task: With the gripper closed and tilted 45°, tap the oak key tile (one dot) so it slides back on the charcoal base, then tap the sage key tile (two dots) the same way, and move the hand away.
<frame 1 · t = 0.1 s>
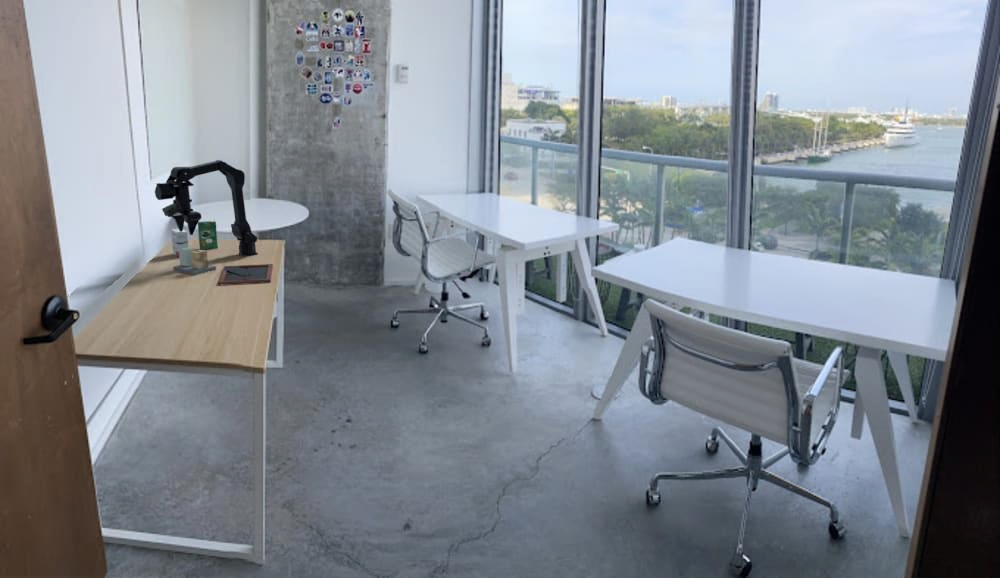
hand: (186, 233, 317), 15 cm above the table, tool pointing down, fingers open, 9 cm apart
sage tile: (187, 256, 316), point 5 cm above the table, slide at 0.0 cm
ink box: (181, 255, 339), on the table
coffee box: (209, 248, 352), on the table
oak tile: (199, 259, 312), point 5 cm above the table, slide at 0.0 cm
key base: (194, 269, 315), on the table
picture frame: (247, 277, 309), on the table
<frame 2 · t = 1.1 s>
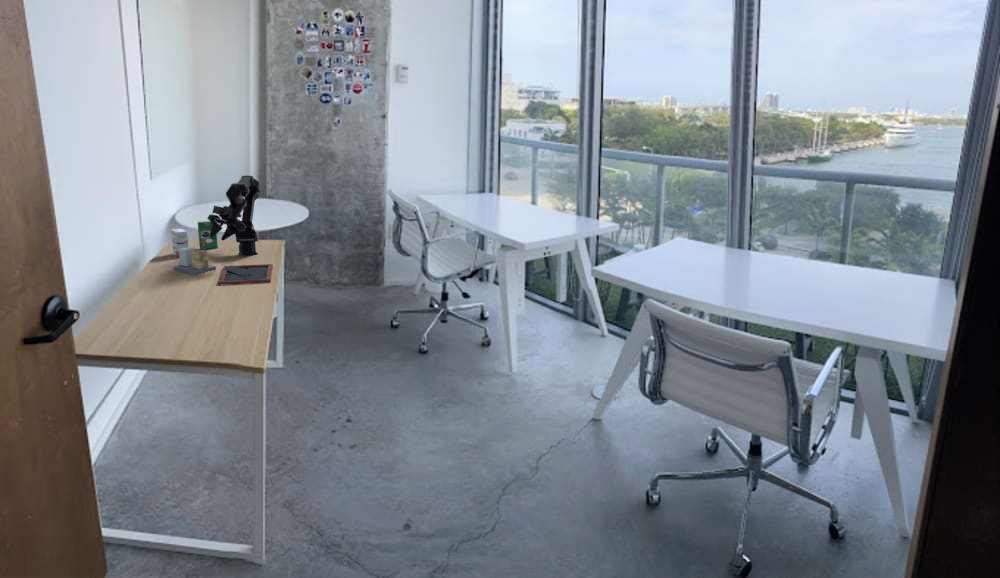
hand: (216, 238, 318), 12 cm above the table, tool tilted 45°, fingers open, 7 cm apart
nothing on the table moved.
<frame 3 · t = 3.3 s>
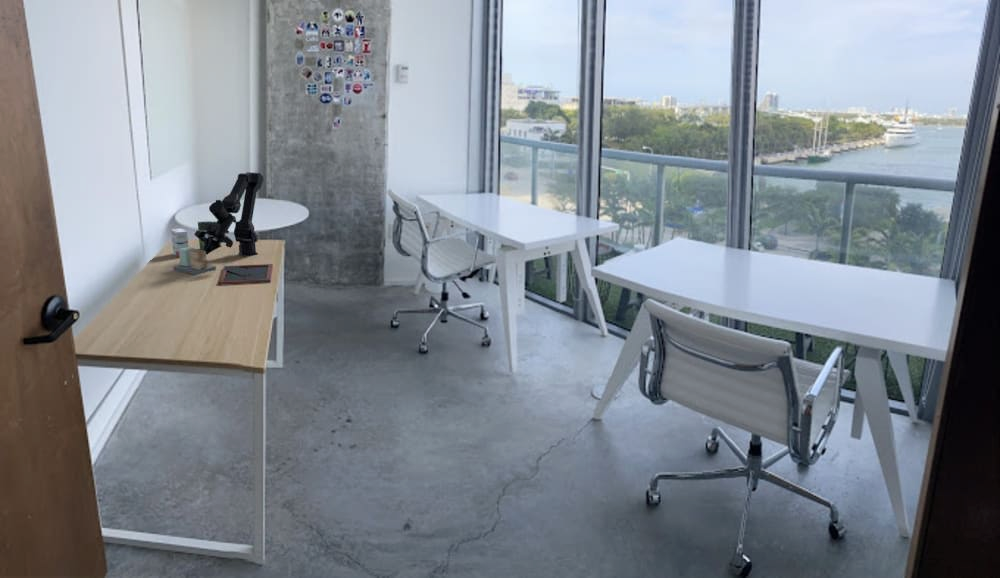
hand: (203, 255, 313), 7 cm above the table, tool tilted 45°, fingers closed, pressing on oak tile
oak tile: (198, 259, 311), point 5 cm above the table, slide at 0.6 cm, touching gripper
everything else where it was.
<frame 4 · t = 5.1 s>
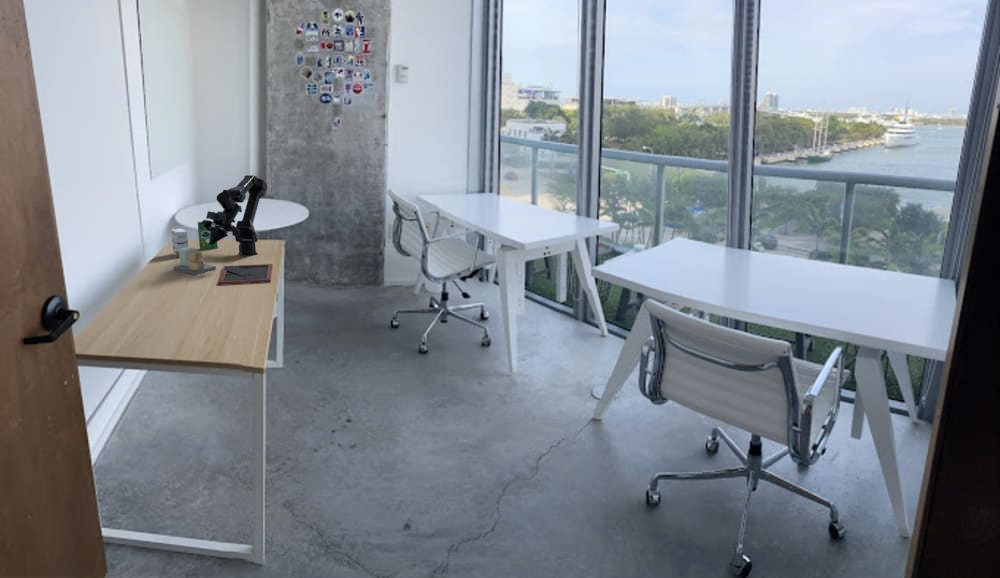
hand: (210, 244, 316), 10 cm above the table, tool tilted 45°, fingers closed
oak tile: (194, 260, 310), point 5 cm above the table, slide at 2.3 cm
everything else where it was.
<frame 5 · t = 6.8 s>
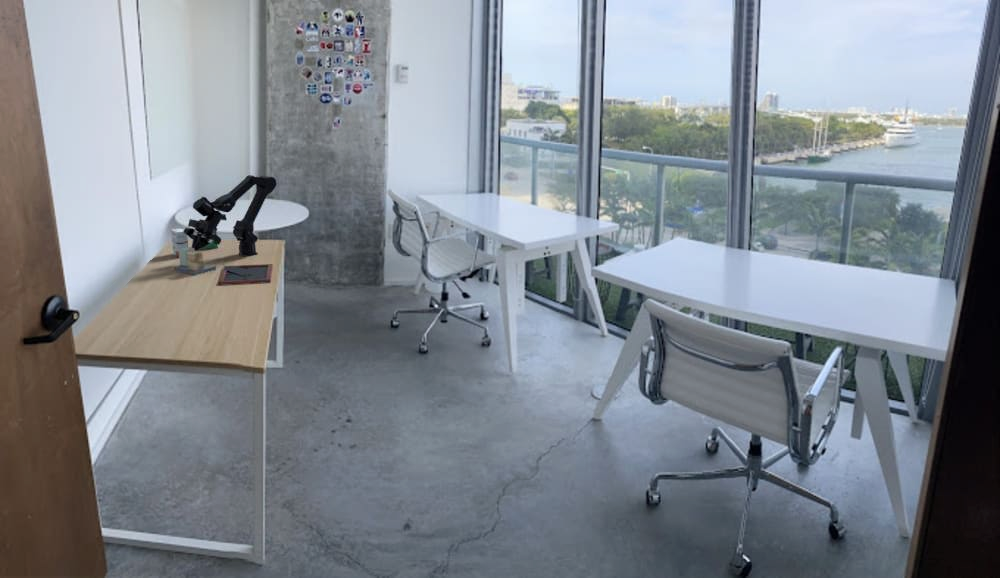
hand: (191, 252, 317), 7 cm above the table, tool tilted 45°, fingers closed, pressing on sage tile
sage tile: (187, 256, 316), point 5 cm above the table, slide at 0.1 cm, touching gripper
everything else where it was.
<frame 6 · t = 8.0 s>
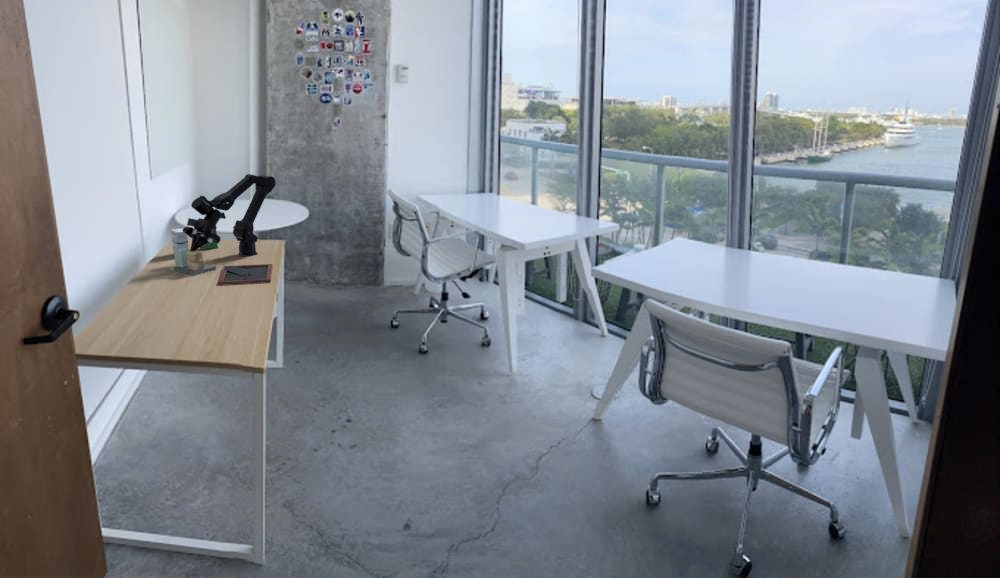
hand: (191, 251, 317), 7 cm above the table, tool tilted 45°, fingers closed
sage tile: (182, 257, 314), point 5 cm above the table, slide at 2.3 cm
everything else where it was.
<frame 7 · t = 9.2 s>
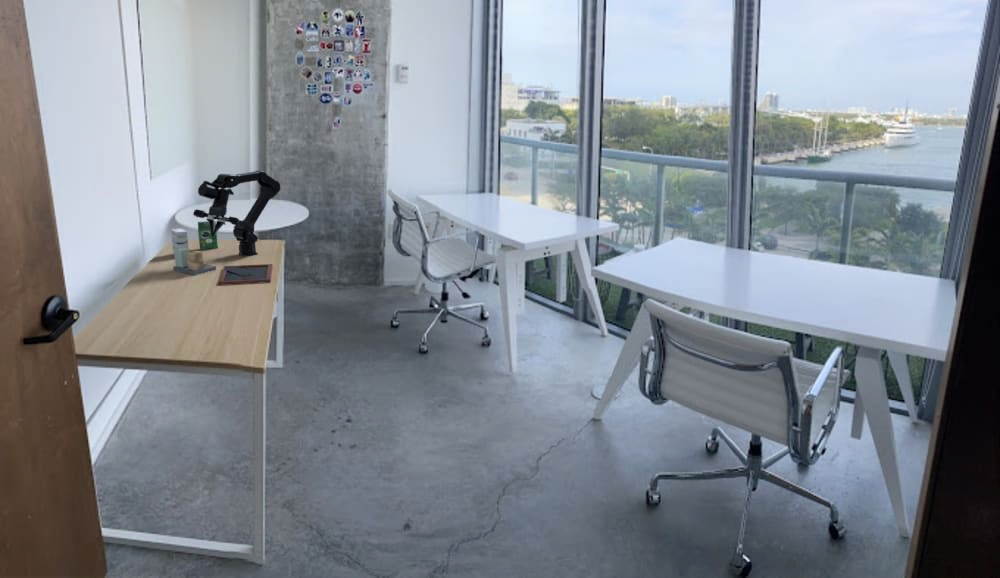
hand: (212, 236, 323), 12 cm above the table, tool tilted 25°, fingers closed
nothing on the table moved.
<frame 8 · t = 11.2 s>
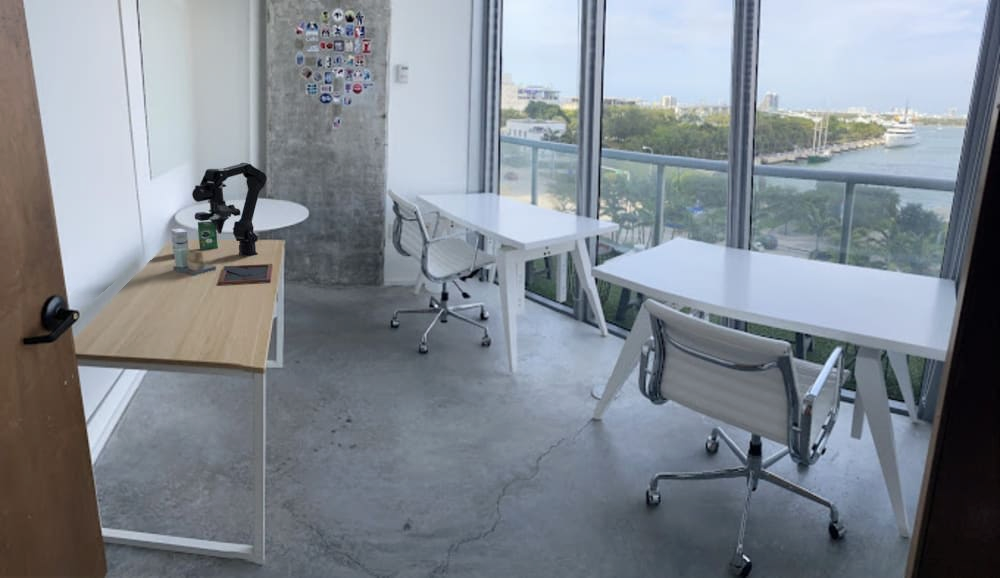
hand: (219, 233, 325), 13 cm above the table, tool pointing down, fingers closed
nothing on the table moved.
at the end: oak tile slide at 2.3 cm; sage tile slide at 2.3 cm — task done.
